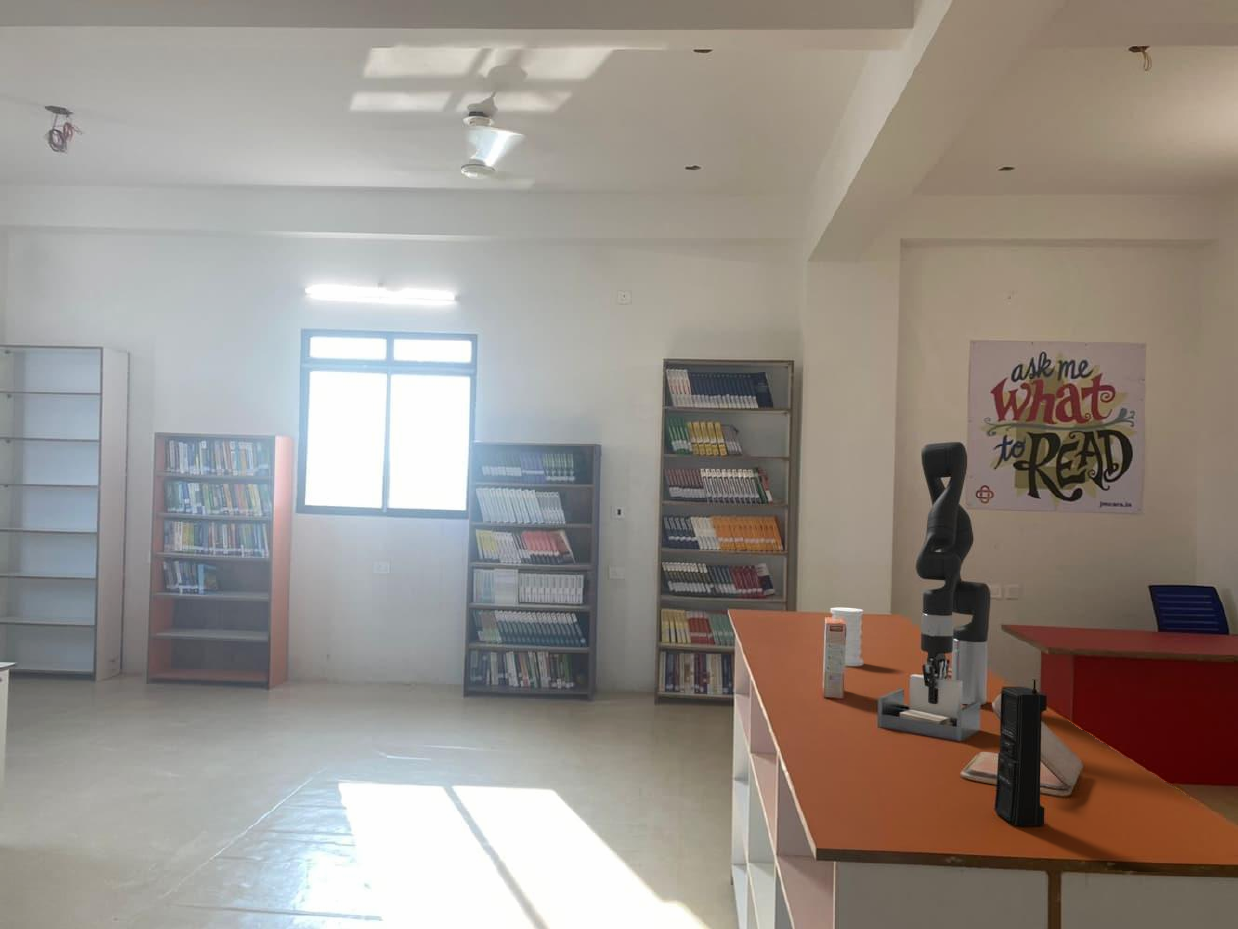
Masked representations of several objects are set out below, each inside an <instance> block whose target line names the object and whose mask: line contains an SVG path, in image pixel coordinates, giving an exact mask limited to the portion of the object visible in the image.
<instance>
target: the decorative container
mask: <svg viewBox="0 0 1238 929" xmlns="http://www.w3.org/2000/svg"><path fill="white" fill-rule="evenodd" d="M829 611H830V612H829V613H830V614H832V616H831V617H835V618H844V619H845V622H846V652H845V667H861V666H863V665H864V660H863V658H861V654H862V649H861V646H862V638H861V636H862V634H863V631H862V625H863V621H862V616H863V615H864V609H861V608H855V607H840V606H838V607H830V610H829Z"/></svg>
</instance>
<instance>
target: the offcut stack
mask: <svg viewBox="0 0 1238 929" xmlns="http://www.w3.org/2000/svg"><path fill="white" fill-rule="evenodd" d="M900 717H902V718H908V719H914V720H919V721H925V722H931V723H937V724H942V725H948V726H952V723H950V718H949V717H944V716H939V715H934V714H929V713H925V712H920V711H915V710H908V711H905V712H901V713H900Z"/></svg>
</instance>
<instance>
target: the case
mask: <svg viewBox="0 0 1238 929" xmlns="http://www.w3.org/2000/svg"><path fill="white" fill-rule="evenodd" d="M991 706H992V711H993V712H994V714H995V716H996V718H998V719H999V720H1000V714H1001V693H1000V694H998V695H997V696H996V697H995V698H994V700H993V701H992V703H991ZM998 754H999V753H997V752H990V751H980V752H979V753H977V754H975V756H974V757H973V758H972V760H970V762H969V763H968V764H967V765H966V766H965V767H964V768H963V769H962V770H961V771H960V773H959V774H960V777H962V778H963V779H964V780H969V781H973V782H978V783H983V784H988V785H993V786H996V785H997V769H998ZM1083 767H1084V766H1083V762H1082V760H1081V759H1080V758H1079V757H1078V756H1077V754H1076V753H1075V752H1074V751H1073V750H1071V748H1069V747H1068V745H1067V744H1066V743H1064V742H1063V741H1062V740H1061V738H1059V737H1058V736H1057V735H1056V734H1055V733H1054V732H1053V731H1052V730H1051V729H1050V727H1048V726H1047V725H1046V724H1045V723H1044V722H1043V721H1042V720H1041V770H1040V795H1041V794H1042V795H1047V796H1052V797H1060V798H1061V797H1062V798H1063V797H1070V796H1071V794H1072V791H1073V789H1074V787H1075V785H1076V783H1077V780H1078V778H1079V775H1080V773H1081V771H1082V769H1083Z"/></svg>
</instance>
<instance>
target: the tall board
mask: <svg viewBox="0 0 1238 929" xmlns="http://www.w3.org/2000/svg"><path fill="white" fill-rule="evenodd" d="M931 682H932V680H931ZM962 683H963V681H958V680H951V678H947V679H944V678H941V679H940V680H939V687H938V703H937V704H931V703H929V702H928V687H927V686H925V683H924V676H923V674H917V673H916V674H911V675H910V676H909V699H908V700H909V702H908V703H909V705H908V706H909V710H915V711H920V712H925V713H929V714H934V715H940V716H946V717H952V718H957V710H959V709H961V708H963V704H962Z"/></svg>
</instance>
